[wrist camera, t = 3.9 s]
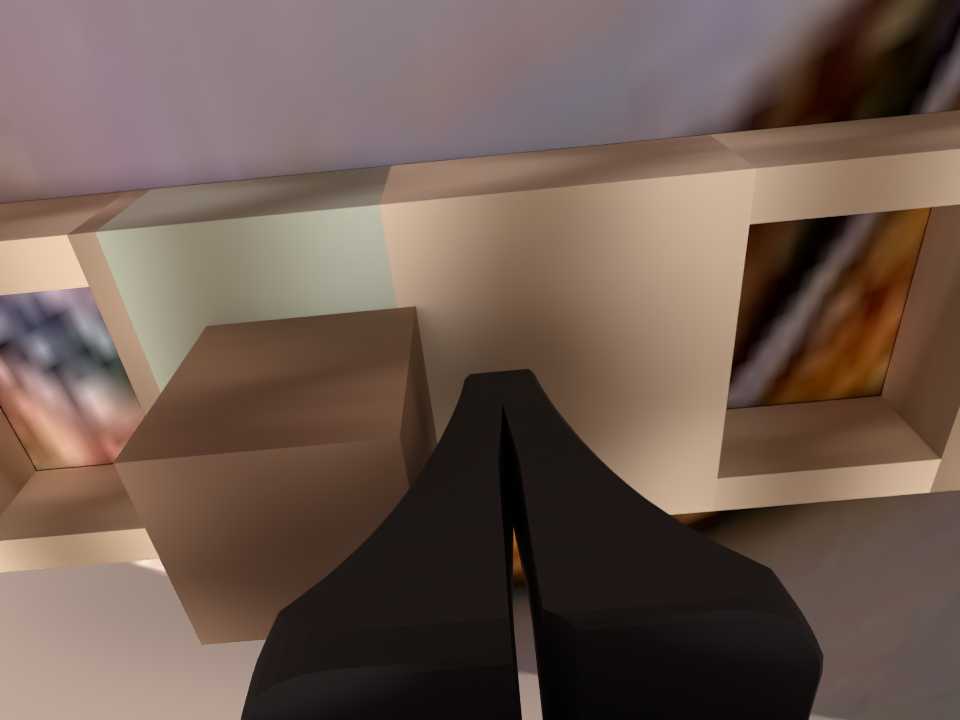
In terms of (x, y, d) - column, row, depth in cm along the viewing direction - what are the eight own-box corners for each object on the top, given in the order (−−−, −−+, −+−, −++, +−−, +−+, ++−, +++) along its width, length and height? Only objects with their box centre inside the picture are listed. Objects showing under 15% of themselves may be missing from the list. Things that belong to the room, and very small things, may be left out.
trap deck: (1008, 105, 13) (1113, 134, 11) (910, 423, 18) (973, 488, 15) (-133, 217, 14) (-240, 264, 12) (34, 501, 18) (-23, 574, 16)
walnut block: (415, 305, 13) (399, 437, 9) (441, 468, 15) (436, 625, 11) (206, 326, 13) (112, 463, 9) (261, 484, 15) (201, 644, 11)
